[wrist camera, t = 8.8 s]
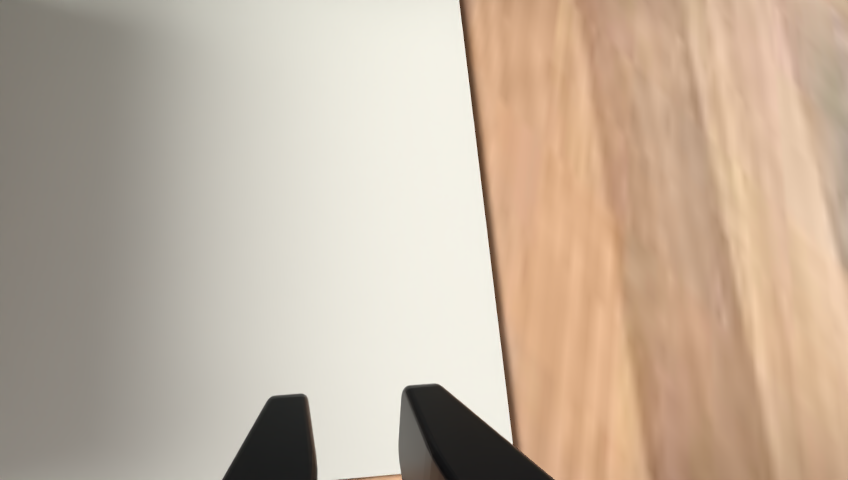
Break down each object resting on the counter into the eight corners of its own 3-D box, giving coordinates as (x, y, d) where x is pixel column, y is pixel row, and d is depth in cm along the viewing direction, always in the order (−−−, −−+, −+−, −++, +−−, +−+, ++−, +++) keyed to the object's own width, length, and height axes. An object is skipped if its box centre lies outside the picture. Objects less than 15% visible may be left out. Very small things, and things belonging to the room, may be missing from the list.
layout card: (511, 463, 22) (516, 463, 22) (-234, 531, 18) (-244, 532, 18) (451, -38, 28) (454, -45, 27) (-132, -71, 24) (-138, -79, 23)
